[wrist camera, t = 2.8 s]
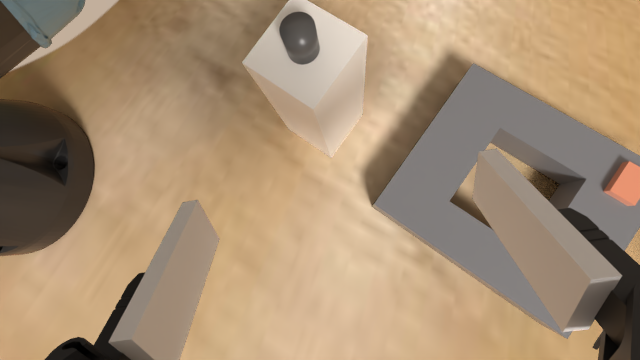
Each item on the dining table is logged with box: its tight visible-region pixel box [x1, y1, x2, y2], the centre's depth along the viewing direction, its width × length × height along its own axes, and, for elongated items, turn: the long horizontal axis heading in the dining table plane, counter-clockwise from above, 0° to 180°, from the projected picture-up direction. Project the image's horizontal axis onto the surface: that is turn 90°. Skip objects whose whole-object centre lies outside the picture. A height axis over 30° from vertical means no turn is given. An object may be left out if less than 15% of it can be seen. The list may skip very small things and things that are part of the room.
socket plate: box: [372, 63, 640, 339], centre depth 24 cm, size 16×14×4 cm
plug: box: [242, 0, 368, 158], centre depth 22 cm, size 5×5×14 cm
